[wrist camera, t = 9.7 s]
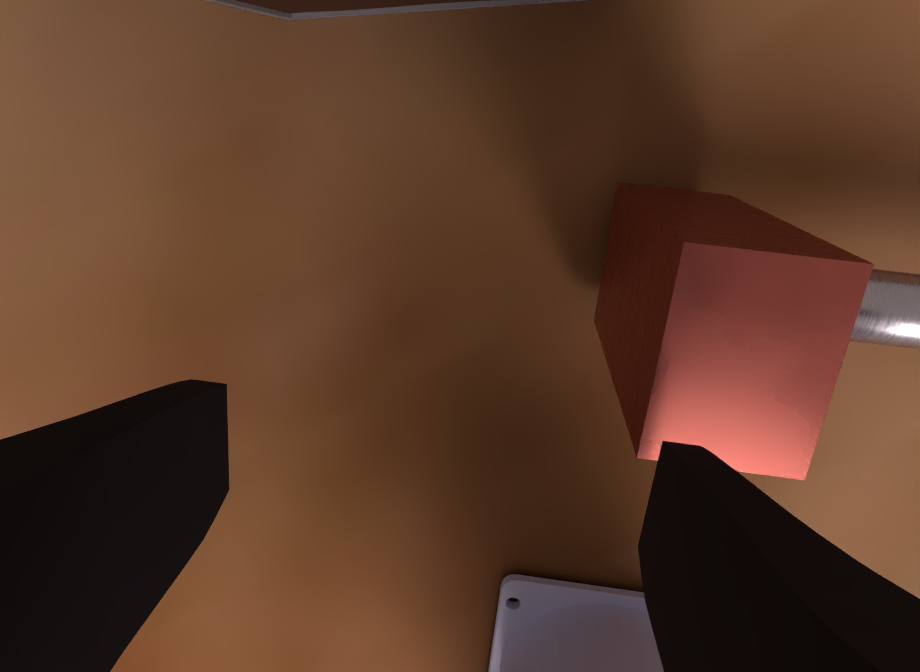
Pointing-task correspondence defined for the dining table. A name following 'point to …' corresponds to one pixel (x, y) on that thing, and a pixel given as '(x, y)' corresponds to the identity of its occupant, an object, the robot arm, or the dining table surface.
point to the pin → (735, 325)
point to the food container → (361, 6)
